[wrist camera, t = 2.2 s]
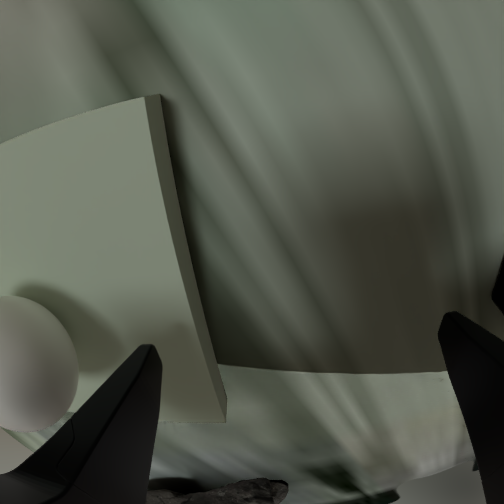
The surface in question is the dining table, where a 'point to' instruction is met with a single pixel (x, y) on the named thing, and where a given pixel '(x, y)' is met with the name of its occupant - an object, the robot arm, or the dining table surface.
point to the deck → (109, 251)
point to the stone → (227, 494)
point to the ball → (34, 366)
